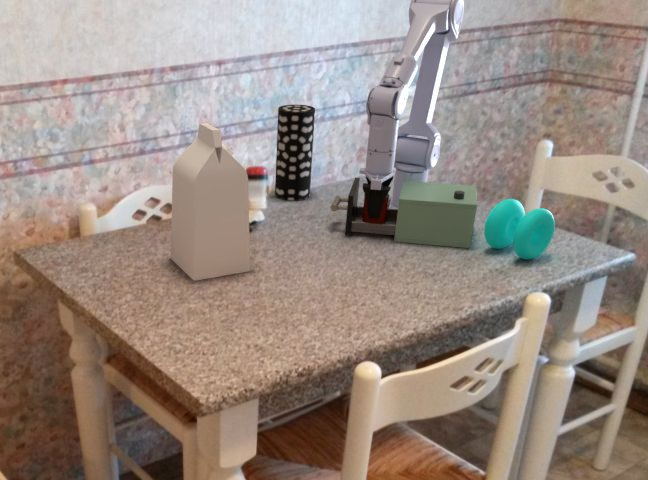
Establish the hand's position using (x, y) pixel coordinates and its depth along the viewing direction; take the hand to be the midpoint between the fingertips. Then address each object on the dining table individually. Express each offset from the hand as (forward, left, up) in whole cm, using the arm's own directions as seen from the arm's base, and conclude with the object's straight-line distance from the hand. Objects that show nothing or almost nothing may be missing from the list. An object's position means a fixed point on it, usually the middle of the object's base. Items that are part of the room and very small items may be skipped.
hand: (374, 213), depth 172 cm
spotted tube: (-19, -21, -4) cm, 28 cm away
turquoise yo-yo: (+7, +28, -4) cm, 29 cm away
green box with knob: (0, +12, -3) cm, 13 cm away
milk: (+28, -29, -4) cm, 40 cm away
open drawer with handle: (0, 0, -3) cm, 3 cm away
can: (0, 0, -2) cm, 2 cm away
